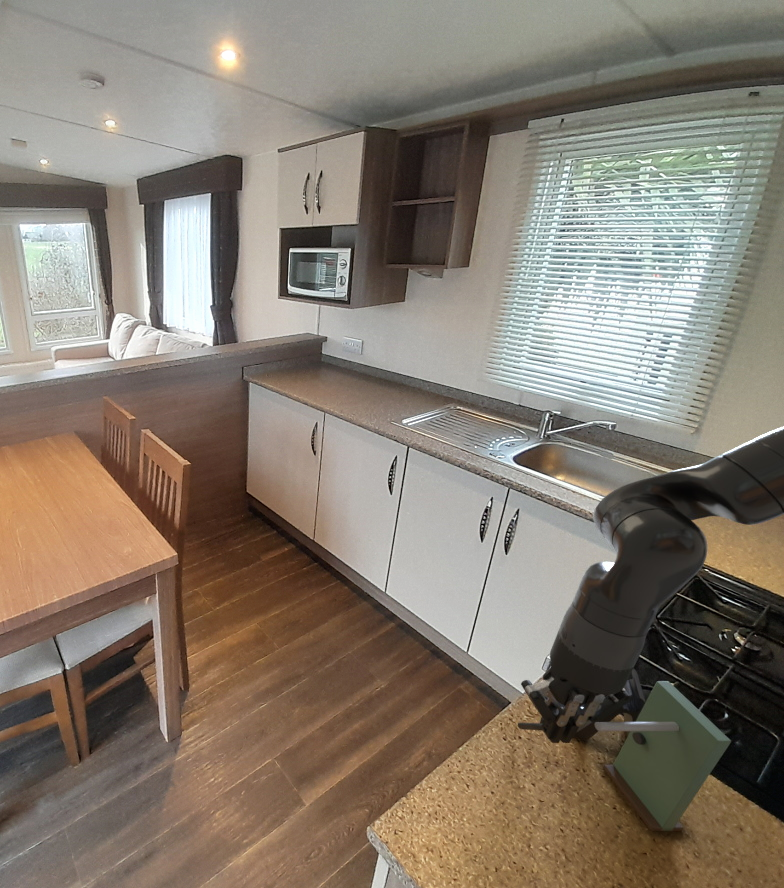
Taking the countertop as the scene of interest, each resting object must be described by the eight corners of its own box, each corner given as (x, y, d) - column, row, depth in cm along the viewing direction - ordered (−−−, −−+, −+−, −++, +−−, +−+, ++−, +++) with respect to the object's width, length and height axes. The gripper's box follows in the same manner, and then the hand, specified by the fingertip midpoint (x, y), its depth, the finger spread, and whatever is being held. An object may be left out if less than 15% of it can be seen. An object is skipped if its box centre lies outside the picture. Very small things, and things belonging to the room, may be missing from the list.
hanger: (560, 732, 65) (568, 696, 67) (553, 728, 65) (561, 692, 67) (521, 730, 72) (530, 698, 75) (515, 726, 73) (524, 694, 75)
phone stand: (569, 738, 73) (594, 682, 68) (566, 707, 78) (589, 653, 73) (646, 768, 69) (679, 711, 64) (638, 734, 73) (668, 679, 68)
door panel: (680, 833, 61) (743, 741, 54) (584, 833, 62) (633, 741, 54) (629, 769, 69) (678, 680, 61) (543, 769, 69) (581, 681, 62)
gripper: (562, 668, 55) (523, 764, 62) (680, 668, 55) (627, 764, 62) (522, 620, 62) (490, 711, 69) (627, 620, 62) (584, 711, 69)
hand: (555, 736), depth 65 cm, fingers closed on hanger, 1 cm apart
